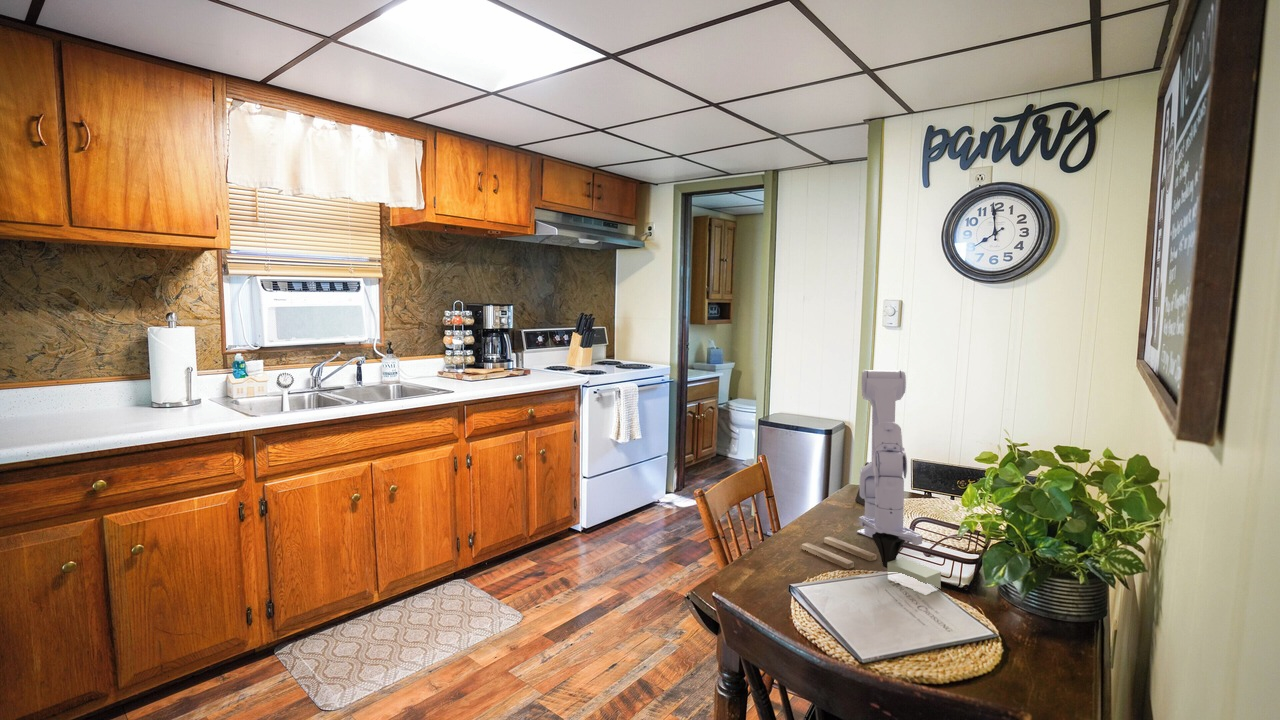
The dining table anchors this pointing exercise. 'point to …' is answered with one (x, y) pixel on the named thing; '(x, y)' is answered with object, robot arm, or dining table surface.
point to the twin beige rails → (836, 558)
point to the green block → (915, 571)
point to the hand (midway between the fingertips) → (888, 566)
